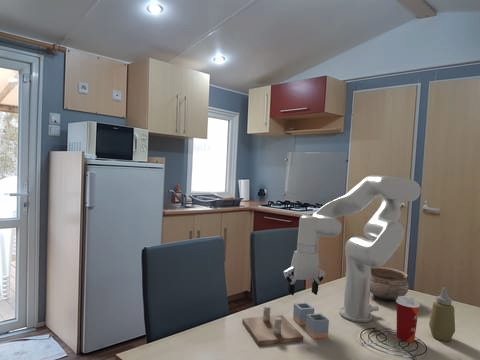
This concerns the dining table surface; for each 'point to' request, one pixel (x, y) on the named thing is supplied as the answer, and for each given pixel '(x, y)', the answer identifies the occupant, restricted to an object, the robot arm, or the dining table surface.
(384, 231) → the robot arm
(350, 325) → the dining table surface
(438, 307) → the squeeze bottle
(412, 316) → the paper cup
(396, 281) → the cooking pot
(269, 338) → the pin board
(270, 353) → the dining table surface
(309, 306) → the sleeve
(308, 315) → the sleeve
